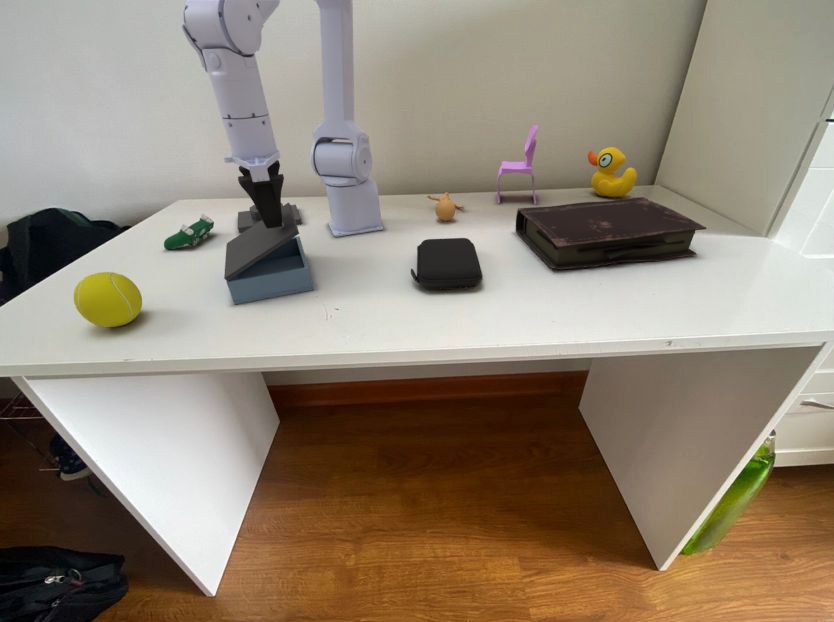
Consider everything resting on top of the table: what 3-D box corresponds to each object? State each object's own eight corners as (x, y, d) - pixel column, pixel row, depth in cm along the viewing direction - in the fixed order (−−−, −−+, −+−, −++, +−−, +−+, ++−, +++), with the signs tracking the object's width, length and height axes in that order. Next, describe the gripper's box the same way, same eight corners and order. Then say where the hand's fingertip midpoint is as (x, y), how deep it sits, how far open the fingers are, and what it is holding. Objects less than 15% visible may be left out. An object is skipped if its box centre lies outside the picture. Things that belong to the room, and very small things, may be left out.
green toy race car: (178, 260, 77) (190, 240, 73) (159, 245, 75) (171, 224, 72) (209, 241, 84) (221, 221, 80) (193, 227, 83) (204, 207, 79)
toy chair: (496, 193, 98) (501, 122, 89) (534, 194, 97) (543, 122, 88) (495, 205, 92) (500, 129, 83) (536, 206, 91) (545, 129, 82)
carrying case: (411, 253, 73) (410, 295, 61) (410, 236, 71) (409, 276, 59) (473, 250, 73) (483, 292, 61) (473, 233, 71) (484, 273, 59)
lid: (290, 205, 67) (272, 181, 64) (299, 233, 57) (278, 206, 54) (229, 246, 68) (208, 223, 65) (227, 281, 58) (202, 256, 55)
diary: (513, 231, 79) (516, 205, 76) (634, 219, 83) (641, 193, 80) (554, 275, 65) (559, 244, 62) (699, 258, 68) (710, 228, 65)
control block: (296, 209, 93) (293, 196, 91) (301, 224, 85) (298, 209, 83) (239, 217, 89) (235, 203, 88) (239, 233, 82) (234, 218, 80)
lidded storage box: (303, 256, 73) (299, 236, 71) (313, 290, 63) (308, 268, 61) (235, 267, 70) (228, 246, 68) (234, 304, 60) (226, 282, 58)
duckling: (576, 194, 97) (584, 147, 91) (585, 188, 100) (594, 142, 94) (626, 203, 91) (638, 153, 85) (634, 196, 94) (647, 148, 88)
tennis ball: (86, 342, 53) (54, 293, 49) (97, 315, 58) (69, 269, 54) (148, 328, 55) (123, 281, 51) (153, 304, 60) (131, 259, 56)
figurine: (427, 200, 80) (433, 171, 88) (419, 226, 85) (425, 196, 92) (468, 213, 81) (470, 183, 89) (458, 238, 86) (461, 207, 94)
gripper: (214, 110, 58) (244, 209, 66) (208, 127, 47) (244, 242, 55) (267, 106, 60) (290, 202, 68) (273, 121, 49) (299, 234, 57)
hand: (273, 220), depth 61 cm, fingers closed on lid, 5 cm apart
